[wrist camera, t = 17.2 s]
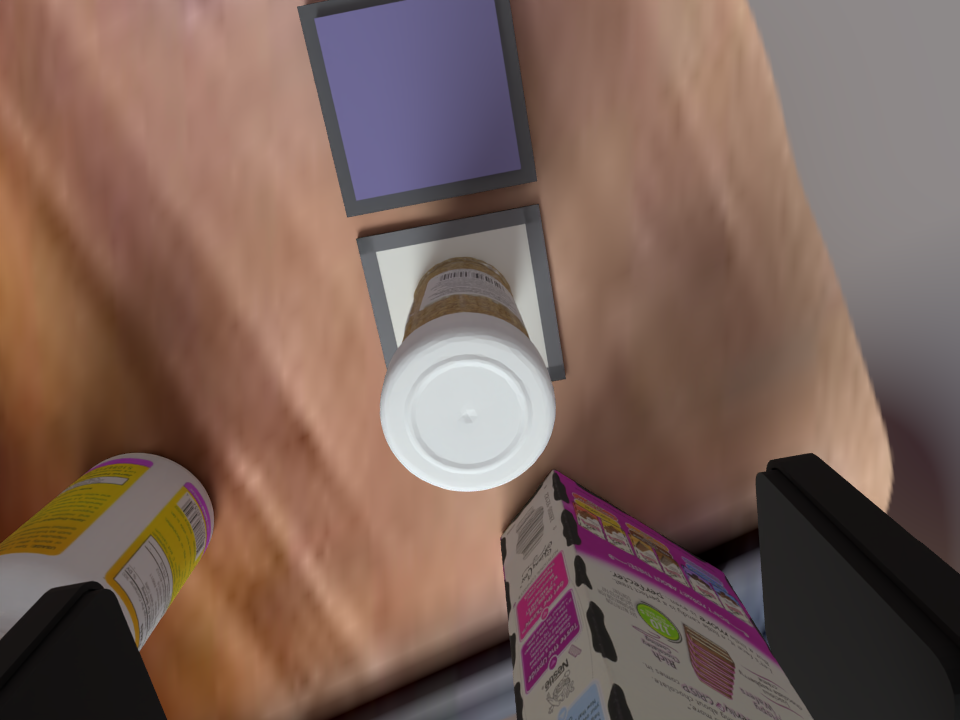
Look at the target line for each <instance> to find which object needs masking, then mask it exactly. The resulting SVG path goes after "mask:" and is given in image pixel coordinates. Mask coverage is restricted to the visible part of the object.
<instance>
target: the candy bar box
mask: <svg viewBox="0 0 960 720" xmlns="http://www.w3.org/2000/svg"><path fill="white" fill-rule="evenodd" d="M500 540H501V551H502V561H503V572H504V582H505V591H506V602H507V612H508V627H509V636H510V644H511V655H512V664H513V680H514V692H515V702H516V713H517V720H813V718H812V716H811V715H810V713H809V712H808V710H807V708H806V707H805V705H804V704H803V702H802V700H801V699H800V697H799V696H798V694H797V692H796V691H795V689H794V688H793V686H792V685H791V683H790V681H789V680H788V678H787V677H786V675H785V673H784V672H783V670H782V669H781V667H780V665H779V664H778V662H777V661H776V659H775V657H774V655H773V653H772V651H771V650H770V648H769V646H768V644H767V643H766V641H765V640H764V638H763V636H762V634H761V633H760V631H759V630H758V628H757V627H756V625H755V623H754V622H753V620H752V618H751V617H750V615H749V614H748V612H747V610H746V609H745V607H744V606H743V604H742V602H741V601H740V599H739V598H738V596H737V594H736V593H735V591H734V590H733V588H732V586H731V585H730V583H729V581H728V580H727V578H726V576H725V575H724V573H723V572H722V571H720V570H719V569H717V568H716V567H714V566H712V565H710V564H709V563H707V562H705V561H704V560H702V559H700V558H699V557H697V556H695V555H694V554H692V553H690V552H689V551H687V550H685V549H684V548H682V547H681V546H679V545H677V544H676V543H674V542H672V541H671V540H669V539H667V538H666V537H664V536H663V535H661V534H659V533H658V532H656V531H654V530H653V529H651V528H649V527H648V526H646V525H644V524H643V523H641V522H639V521H638V520H636V519H634V518H633V517H631V516H630V515H628V514H626V513H625V512H623V511H621V510H620V509H618V508H617V507H615V506H613V505H612V504H610V503H609V502H607V501H605V500H604V499H602V498H600V497H599V496H597V495H595V494H594V493H592V492H590V491H589V490H587V489H586V488H584V487H582V486H581V485H579V484H577V483H576V482H574V481H573V480H571V479H569V478H568V477H566V476H565V475H563V474H561V473H560V472H558V471H556V470H554V469H553V470H552V471H551V472H550V473H549V475H548V476H547V477H546V478H545V480H544V481H543V482H542V484H541V485H540V486H539V488H538V489H537V490H536V492H535V494H534V495H533V496H532V498H531V499H530V500H529V501H528V503H527V504H526V505H525V506H524V507H523V508H522V510H521V511H520V513H519V514H518V515H517V516H516V517H515V518H514V519H513V521H512V522H511V523H510V525H509V526H508V528H507V529H506V530H505V532H504V533H503V534H502V536H501V538H500Z"/></svg>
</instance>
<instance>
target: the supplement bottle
mask: <svg viewBox="0 0 960 720" xmlns="http://www.w3.org/2000/svg"><path fill="white" fill-rule="evenodd" d="M213 527H214V512H213V507H212V504H211V501H210V498H209V496H208V494H207V492H206V490H205V488H204V487H203V486H202V484H201V483H200V481H199V480H198V479H197V478H196V477H195V476H194V475H193V474H192V473H191V472H189V471H188V470H187V469H185V468H184V467H183V466H181V465H179V464H177V463H176V462H174V461H172V460H169V459H167V458H164V457H161V456H158V455H154V454H147V453H127V454H122V455H117V456H114V457H111V458H109V459H106V460H104V461H102V462H100V463H99V464H97V465H96V466H94V467H93V468H91V469H90V470H89V471H88V472H86V473H85V474H84V475H83V476H81V477H80V478H79V479H78V480H76V481H75V482H74V483H73V484H72V485H70V486H69V487H68V488H67V489H66V490H65V491H63V492H62V493H61V494H60V495H58V496H57V497H56V498H55V499H54V500H52V501H51V502H50V503H49V504H48V505H46V506H45V507H44V508H43V509H42V510H41V511H39V512H38V513H37V514H36V515H34V516H33V517H32V518H31V519H30V520H28V521H27V522H26V523H24V524H23V525H22V526H21V527H20V528H19V529H17V530H16V531H15V532H14V533H13V534H12V535H10V536H9V537H8V538H7V539H6V540H4V541H3V542H2V543H1V544H0V639H1V638H2V637H3V636H4V635H5V634H6V633H7V632H8V631H9V630H10V629H11V628H12V627H13V626H14V625H15V624H16V623H17V622H18V620H19V619H20V618H21V617H22V616H23V615H24V614H25V613H26V612H27V611H28V610H29V609H30V608H31V607H32V606H33V605H34V604H35V603H36V602H37V601H38V600H39V599H40V597H41V596H42V595H43V594H44V593H46V592H47V591H48V590H49V589H51V588H55V587H60V586H66V585H71V584H77V583H82V582H88V581H95V582H99V583H100V584H101V585H102V586H103V587H104V589H110V590H111V591H113V592H114V594H115V595H116V597H117V599H118V602H119V604H120V606H121V609H122V611H123V614H124V616H125V619H126V621H127V624H128V626H129V628H130V631H131V633H132V636H133V638H134V641H135V643H136V645H137V648H138V650H139V651H140V650H141V648H142V646H143V645H144V643H145V642H146V640H147V639H148V637H149V636H150V634H151V633H152V631H153V630H154V628H155V627H156V625H157V624H158V622H159V621H160V619H161V618H162V616H163V615H164V613H165V612H166V611H167V609H168V607H169V606H170V604H171V603H172V601H173V600H174V598H175V597H176V595H177V594H178V592H179V591H180V589H181V588H182V586H183V585H184V583H185V582H186V580H187V579H188V577H189V576H190V574H191V572H192V571H193V569H194V568H195V566H196V565H197V563H198V562H199V560H200V559H201V557H202V555H203V554H204V552H205V550H206V548H207V546H208V544H209V542H210V540H211V537H212V533H213Z"/></svg>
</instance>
